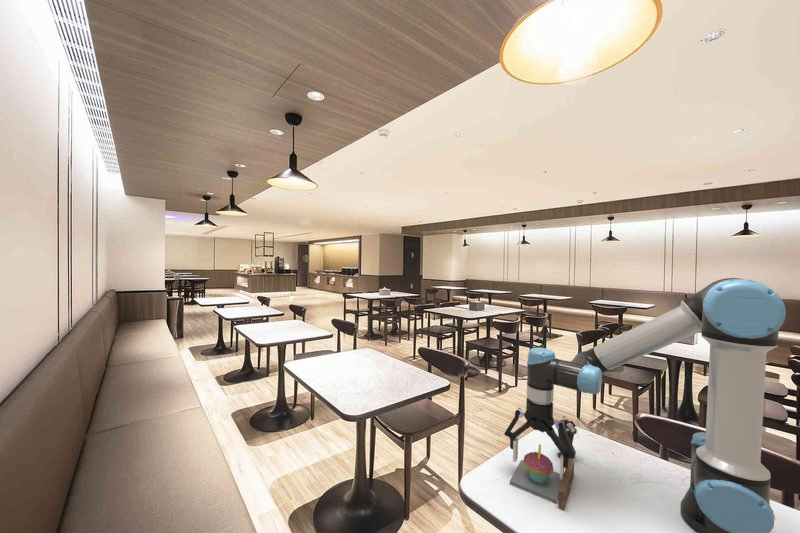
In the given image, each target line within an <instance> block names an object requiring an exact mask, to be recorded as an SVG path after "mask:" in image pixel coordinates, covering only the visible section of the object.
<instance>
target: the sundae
mask: <svg viewBox="0 0 800 533" xmlns="http://www.w3.org/2000/svg"><path fill="white" fill-rule="evenodd" d="M562 420H564V422H565V429H566V431H567V434H568V436H569V438H570V440H571V442H572V444H573V442H574V438H575V437H574V436H575V435H576V434H577V432H578V429H577V428H576V424H575V422H574V421H573V420H571V419H570V420H569V419H567V418H566V416H565V415H563V416H562ZM555 429H557V427H556V426H555ZM557 436H558V437H559V439H560V440H561V441H562V443H563V444H564V446H565V447H566V445H565V443H564V441H563V439H562V436H561V434H560V431H559V429H557ZM566 449H567V448H566ZM556 455H557V457H558V459H560V457H561V452H560V451H559V452H558V453H556ZM570 459H573V460H574V458H570Z"/></svg>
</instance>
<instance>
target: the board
mask: <svg viewBox="0 0 800 533" xmlns="http://www.w3.org/2000/svg"><path fill="white" fill-rule="evenodd" d="M523 462H524V459H521V460H520V461H519V463H518V465H517V467H515V471H514V472H513V474H512V476H511V478H510V479H509V485H511V486H513V487H516V488H518V489H520V490H522V491H524V492H527V493H530V494H532V495H534V496H537V497H538V498H541V499H543V500H546V501H548V502H552V503H554V504H557V503H558V501H559V488H560V485H561V482H562V479H560V472H557V471H554V470H553V472H552V474H550V475H549V476H548V478H547V481H546V482H545V483H537V482H535V481H533V480H532V479H531V478H530V475H529V472H528V469H527V468H526V467H525V466H524V464H523ZM557 505H558V504H557Z"/></svg>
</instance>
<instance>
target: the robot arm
mask: <svg viewBox="0 0 800 533" xmlns="http://www.w3.org/2000/svg"><path fill="white" fill-rule="evenodd" d="M786 316H787V311H786V306H785V304H784V300H782V298H781V296H780V295H779V294H778V293H777V292H776V291H774V289H773V288H771V287H769V286H767V285H766V284H763V283H761V282H759V281H755V280H752V279H744V278H737V277H727V278H721V279H717V280H716V281H713V282H711V283H709V284H708V285H707V286H705V287H704V288H702V289H700V290H699V291H697V292H696V293H694V294H692V295H690V296H689V297H686V298H684V299H682V300H681V301H680V305H679V306H677V307H675V308H673V309H670V310H669V311H666V312H665V313H663V314H660V315H658V316H656V317H654V318H652V319H650V320H647V321H646V322H644V323H641V324H639V325H637V326H635V327H634V328H631V329H629V330H627V331H625V332H623V333H621V334H619V335H616V336H615V337H613V338H610V339H609V340H606V341H604V342H602V343H600V344H598V345H596V346H594V347H592V348H589V349H588V350H583V351H580V352H579V353H577V354H576V355H575V356H574V357H573V359H572V360H563V359H559V358H557V357H556V354H555V352H554V351H553V350H552V349H548V348H546V347H545V348H544V347H533V348H530V349H529V350H528V354H527V362H526V364H527V369H526V370H527V371H526V374H527V375H526V379H527V380H526V381H527V382H526V401H525V402H526V405H525V406H526V407H525V411H523V409H521V408H520V407H518V408H517V409H516V410H515V411H514V412H515V414H514V417H513V419H512V420H511V422H510V424H509V425H508V426H507V428H506V429H505V431H504V434H503V435H504V436H506V437H508V438H509V448H510V449H511V450H512V462H514V463H516V462H517V460H518V457H519V456H518V454H519V436H520V435H521V434H523V433H524V432H525V431H527V430H528V429H529V428H531V429H532V430H534V431H539V432H541V433H546V434H547V436H548V437H549V438H550V439H551V440H552V442H553V444H554V445H555V447H556V448H557V450H558V451H559V452H561V457H560V458H559V474H560V479H563V475H564V472H565V469H566V468H568V463H569V458H573V459H575V458H576V454H577V452H576V450H575V447H574V445H573V443H572V442H571V440H570V438H569V436H568V434H567V431H566V429H565V422H564V420H565V419H564V420H563V419H560V420H558V419H557V420H556V419H554V403H553V402H554V392H555V391H554V390H555V389H554V387H555V386H559V387H562V388H567V389H570V390H572V391H573V390H574V391H578V392H581V393H583V394H590V395H591V394H592V395H598V394H600V392H601V389H602V383H603V374H604V373H607V372H609V371H610V370H613V369H616V368H618V367H621V366H623V365H625V364H627V363H630V362H632V361H634V360H637V359H640V358H642V357H644V356H646V355H649V354H651V353H653V352H654V353H655V352H656V351H658V350H660V349H663V348H665V347H668V346H671V345H672V344H675V343H677V342H680V341H683V340H684V339H687V338H690V337H691V336H694V335H697V334H699V333H701V334H700V335H701V337H702V338H703V339H704V340H705V341H706V342H707V343H708V344H709V359H708V360H709V361H708V362H709V363H708V380H707V381H708V382H707V401H706V402H707V403H706V405H707V406H706V419H705V420H706V424H705V432H703V431H701V432H695V433H693V435H692V438H691V439H692V440H691V441H690V443H691V460H690V477H689V478H690V482H689V487H688V489H687V490H686V493H685V494H684V497H683V498H682V500H681V501H680V507H679V509H680V511H679V512H680V516H681V518H682V519H683V521H684V522H685V523H686V525H688V526H689V527H690V528H691V529H692V530H694V532H696V533H697V532H698V533H771V532H772V531H773V529H774V526H775V519H776V518H775V514H774V509H772V506H771V503H770V502H771V501H770V500H771V499H770V497H771V480H772V478H771V472H770V471H769V469H768V468H766V467H765V465H764V464H762V463H761V459H762V458H761V457H762V441H763V440H762V438H763V425H764V424H763V421H764V402H765V385H766V384H765V383H766V364H767V353H768V352H769V351H772V350H774V349H775V348H778V346H779V333H780V332H779V331H780V328H781V327H782V325H783V324H784V322H785V320H786ZM523 417H524V418H525V420H526V422H524V423H523V424H522V425H520V427H518V428H517V429H516V430H514V431H513V432H512V430H513V429H514V427H515V426H516V424H517V423H518V421H519V419H522V418H523ZM554 425H555V428H556V427H557V428H556V429H557V430H558V429H559V431H560V434H561V436H562V439H563V441H564V443H565V445H566V447H565V446H564V444H563V443H562V441H561V440H560V439H559V436H558V433H556V431H555V429H554V428H553V426H554ZM566 448H567V449H566Z"/></svg>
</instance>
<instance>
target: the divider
mask: <svg viewBox="0 0 800 533" xmlns="http://www.w3.org/2000/svg"><path fill="white" fill-rule="evenodd" d="M574 476H575V459H574V458H573V459H570V458H569V463H568V468H564V475H563V479H562V482H561V485H560V488H559V497H558V500H557V503H558V504H557V505H558V506H557V509H559V510H561V511H563V512H565V511H566V508H567V503H568V500H569V496H570V492H571V488H572V485H573V484H572V483H573V480H574Z"/></svg>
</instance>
